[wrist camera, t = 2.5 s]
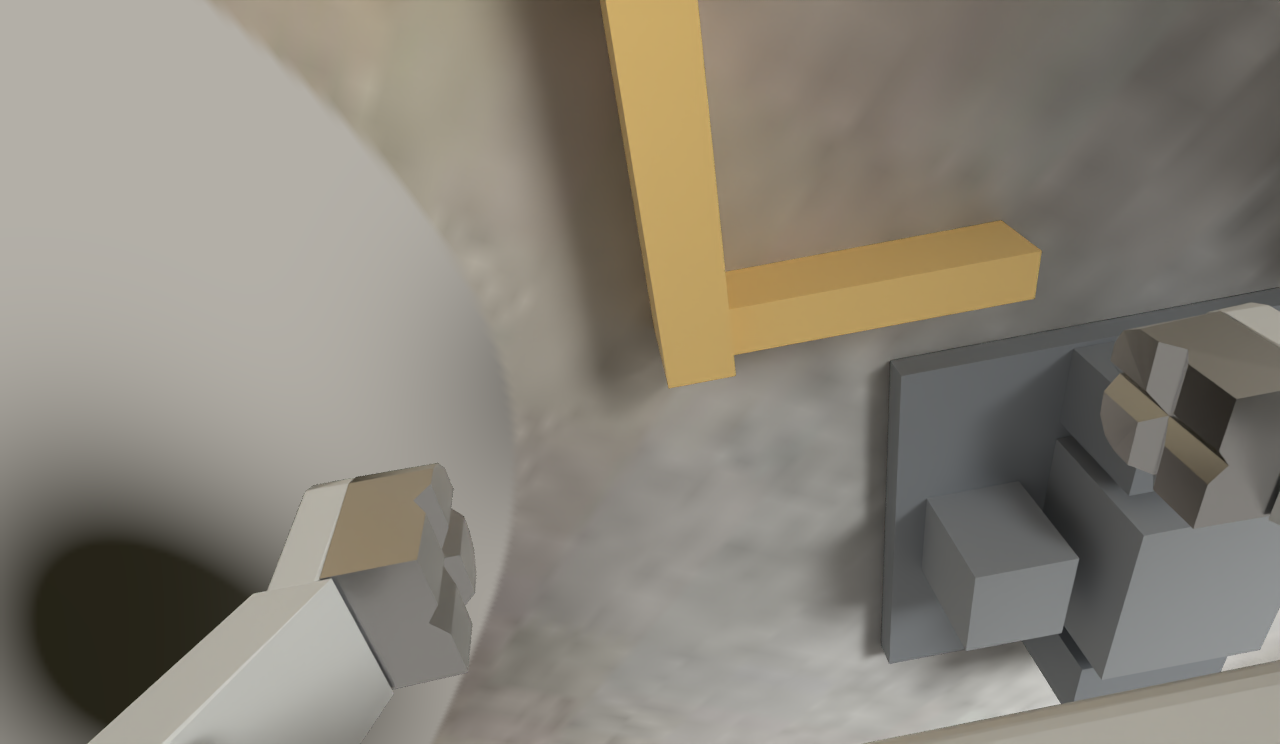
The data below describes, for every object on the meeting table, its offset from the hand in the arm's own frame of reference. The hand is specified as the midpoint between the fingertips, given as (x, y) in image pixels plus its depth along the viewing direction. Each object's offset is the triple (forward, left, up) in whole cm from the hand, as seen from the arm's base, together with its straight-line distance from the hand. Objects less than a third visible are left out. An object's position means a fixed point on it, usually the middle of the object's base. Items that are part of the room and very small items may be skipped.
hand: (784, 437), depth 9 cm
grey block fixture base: (-14, +18, -15) cm, 27 cm away
